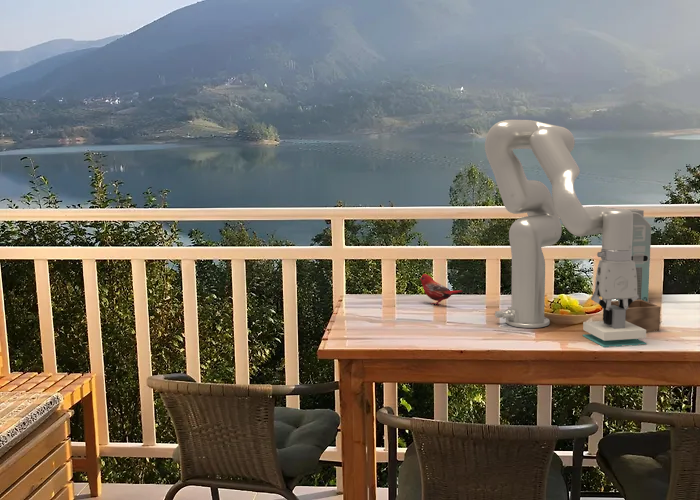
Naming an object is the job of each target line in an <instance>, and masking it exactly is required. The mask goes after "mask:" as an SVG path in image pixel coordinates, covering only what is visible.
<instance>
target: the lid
mask: <svg viewBox="0 0 700 500" xmlns="http://www.w3.org/2000/svg"><path fill="white" fill-rule="evenodd" d="M610 310H612V324H611V325H608V324H606V323H604V321H603V320H595V321H593V320H592V321H583V324H582V326H583V327H582V328H583V331H585V332H586V333H589V334H592V335H594V336H596V337H598V338H600V339H602V340H604V341H607V340H623V339H639V340H640V339H647V332H646V330H645V329H643V328H641V327H639V326H636V325H634V324H632V323H629V322H627V321H625V316H626V310H625V309H623V308H620V307H618V306H615V305H611V308H610Z"/></svg>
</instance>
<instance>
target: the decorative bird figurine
mask: <svg viewBox="0 0 700 500" xmlns="http://www.w3.org/2000/svg"><path fill="white" fill-rule="evenodd" d="M419 281H421V285H422V288H423V291H424V293H425V295H426V296H427V297H428V298H429V299H431V300H433V301H434V302H430V304H431V305H433V304H437V305H436V306H439V305H440V306H441V305H442V304H441V302H442V301H443V300H448V299H449V298H450V297H452V296H453V295H456V294H458V293H462V292H463V290H451V289H449V288H448V287H446V286H445V285H443V284H441V283H439V282H437V281H435V280H434V279H433V278H432V277H431V276H430V275H429V274H427V273H423V274H422V275H421V276H420V278H419Z"/></svg>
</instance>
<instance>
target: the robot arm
mask: <svg viewBox="0 0 700 500" xmlns="http://www.w3.org/2000/svg"><path fill="white" fill-rule="evenodd" d="M574 147H575V137H574V134H573V133H572V132H571V131H570V130H569V129H568V128H566V127H564V126H560V125H555V124H550V123H545V122H542V121H537V120H533V119H532V120H531V119H505V120H500V121H498V122H496V123H495V124H493V125H492V126H491V127H490V129H488V131H487V133H486V137H485V142H484V151H485V155H486V159H487V161H488V163H489V166H490V168H491V171H492V173H493V175H494V179H495V183H496V185H497V188H498V191H499V195H500V197H501V201H502V203H503V206H504V209H506V211H507V212H508V213H510V214H513V215H515V214H516V215H517V214H519V215H520V214H526V213H527V216H522V217H520V218H517V219H516V220H515V221H513V222H512V224H511V225H510V227H509V231H508V239H509V245H510V251H511V253H510V254H511V299H510V300H511V304H510V305H511V306H507V309H506V310H499V311H498V310H497V311H495V313H494V316H495V318H496V319H497V318H498V319H499V318H502V319H505V323H506V324H507V325H508V326H512V327H516V328H521V329H522V328H524V329H539V328H545V327H547V326H549V325H550V323H551V322H550V319H549V318H548V317H545V304H546V303H545V301H546V300H545V299H546V292H545V291H546V261H545V255H544V253H543V252H544V251H543V249H542V248H545V247H550V246H553V245H555V244H557V242H558V241H560V239H561V237H562V234H563V233H562V232H563V231H562V225H563V226H564V227H565V229H566V230H567V231H568V232H569V233H570V234H572V235H574V236H575V237H586V236H593V235H598V234H602V235H601V237H602V238H601V249H600V251H598V252H597V254H596V255H597V257H598V258H600V259H601V260H598V265H597V269H596V276H595V281H594V282H595V284H594V291H593V294H592V295H591V297H590V299H591V301H593V302H594V303H597V304H598V305H599V306H600V307H601V309H602V311H603V312H602V321H604V323H606V324H608V325H611V324H612V310H610V308H611V301H613V300H614V299H619V307H620V308H623V309H625V310H626V309H628V306H629V305H630V304H631V303H632V302H633V301H635V300H636V299H638V298H639V296H638V294H637V274H636V267H635V262H634V261H632V260H631V257H632V232H633V214H632V212H631V211H630V210H627V209H628V208H615V209H609V208H610V207H604V206H599V205H598V206H597V205H596V206H595V205H594V206H585V207H584V206H583V205H582V203H581V202H580V199H579V198H578V196H577V193H576V190H575V181H576V178H578V176H579V175H580V172H581V170H580V167H579V166H578V164H577V161H576V160H575V158H574V157H573V155H572V154H571V153H572V151H573V150H574ZM525 149H527V150H531V151H532V153H533V155H534V156H535V158H536V159H537V161H538V163H539V165H540V166H541V168H542V170H543V171H544V173H545V175H546V176H547V179H548V180H549V182H550V184H551V191H550V189H549V188H548V187H547V186H546V184H544V183H543V182H542V181H539V180H536V179H535V180H534V179H528V178H527V175H526V173H525V170H524V166H523V165H522V163H521V160H520V159H519V158H518V157H517V155H516V154H515V153H514V150H525ZM600 297H601V298H602V299H601V298H600ZM625 319H626V316H625Z"/></svg>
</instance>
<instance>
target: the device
mask: <svg viewBox="0 0 700 500" xmlns="http://www.w3.org/2000/svg"><path fill="white" fill-rule="evenodd" d="M608 208H609V209H616V208H614V207H608ZM626 209H627V210H630V211H631V212H632V214H633V232H632V257H631V260H632V261H634V262H635V267H636V274H637V294H638V296H639V298H638V299H636V300H644V301H646V302H649V294H650V293H649V292H650V291H649V290H650V289H649V288H650V268H651V267H650V266H651V263H650V262H651V245H652V244H651V243H652V242H651V241H652V239H651V237H652V226H651V224H650V222H649V221H648V220H647V219H645V217H644V213H645V212H644V211H645V210H642V209H636V208H626ZM616 300H618V301H619V299H616ZM616 300H615V301H616Z"/></svg>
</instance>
